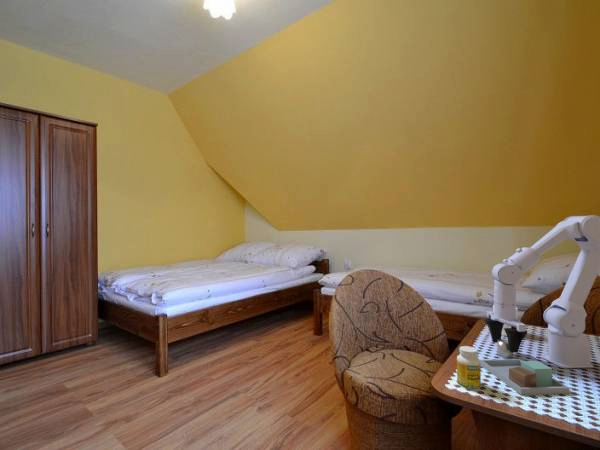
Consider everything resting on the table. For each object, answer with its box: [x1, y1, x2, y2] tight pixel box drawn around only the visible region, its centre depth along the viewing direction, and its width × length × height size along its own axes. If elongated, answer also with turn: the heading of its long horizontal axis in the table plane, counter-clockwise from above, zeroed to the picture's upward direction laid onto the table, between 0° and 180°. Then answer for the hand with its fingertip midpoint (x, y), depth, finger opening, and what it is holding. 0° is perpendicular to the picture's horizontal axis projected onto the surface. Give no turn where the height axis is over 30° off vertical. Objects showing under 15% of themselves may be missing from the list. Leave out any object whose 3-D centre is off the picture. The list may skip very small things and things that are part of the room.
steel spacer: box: [496, 338, 514, 359], centre depth 96 cm, size 4×4×5 cm
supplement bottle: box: [456, 345, 482, 391], centre depth 79 cm, size 5×5×10 cm
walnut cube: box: [509, 366, 536, 388], centre depth 78 cm, size 4×4×4 cm
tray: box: [479, 358, 570, 396], centre depth 83 cm, size 12×16×2 cm
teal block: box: [521, 360, 553, 387], centre depth 80 cm, size 4×4×4 cm
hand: (504, 347), depth 96 cm, fingers open, 7 cm apart
